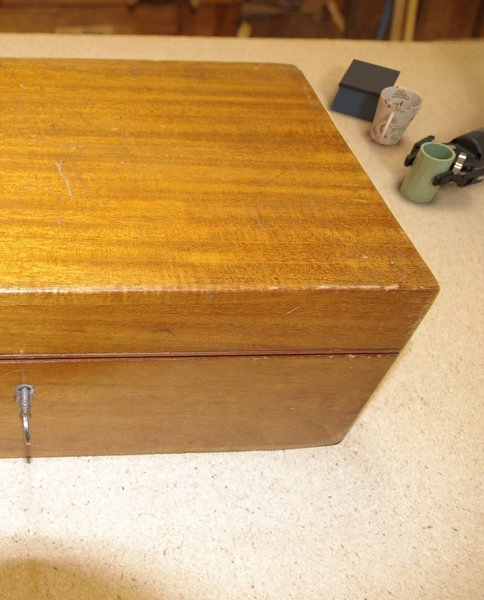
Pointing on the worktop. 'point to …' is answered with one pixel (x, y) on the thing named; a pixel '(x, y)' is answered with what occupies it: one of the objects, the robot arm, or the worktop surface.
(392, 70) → the container
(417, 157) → the cup
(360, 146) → the worktop surface
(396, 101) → the mug
